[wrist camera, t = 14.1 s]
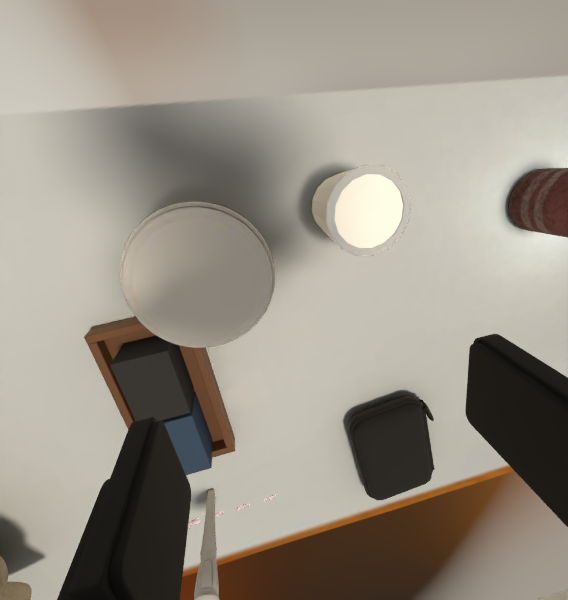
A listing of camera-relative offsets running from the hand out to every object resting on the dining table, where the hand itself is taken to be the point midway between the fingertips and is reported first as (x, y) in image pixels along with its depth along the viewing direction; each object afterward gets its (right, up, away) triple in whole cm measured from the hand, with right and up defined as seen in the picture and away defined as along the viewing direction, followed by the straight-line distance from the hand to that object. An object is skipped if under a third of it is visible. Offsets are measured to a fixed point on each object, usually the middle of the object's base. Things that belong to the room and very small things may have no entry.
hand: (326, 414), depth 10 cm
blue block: (-13, -10, +27) cm, 31 cm away
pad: (-14, -3, +24) cm, 28 cm away
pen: (-10, -21, +32) cm, 39 cm away
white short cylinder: (+4, +13, +22) cm, 26 cm away
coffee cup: (-8, +9, +21) cm, 24 cm away
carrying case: (+13, -15, +34) cm, 39 cm away
